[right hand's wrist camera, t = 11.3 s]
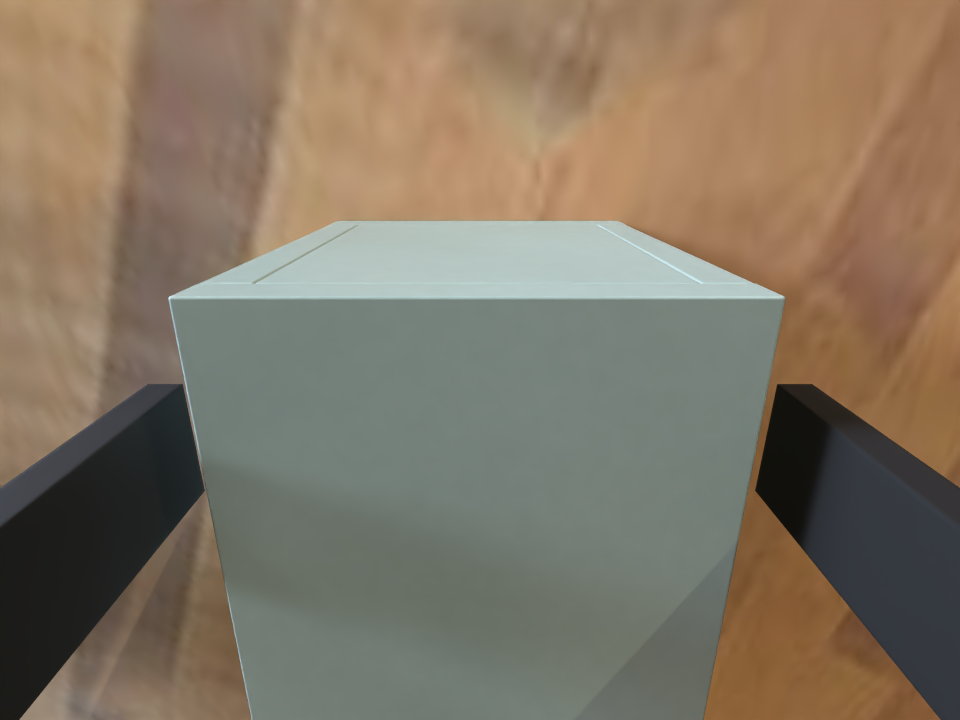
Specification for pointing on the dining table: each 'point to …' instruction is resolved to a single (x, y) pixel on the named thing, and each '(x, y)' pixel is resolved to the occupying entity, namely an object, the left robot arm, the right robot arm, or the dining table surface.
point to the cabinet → (477, 467)
